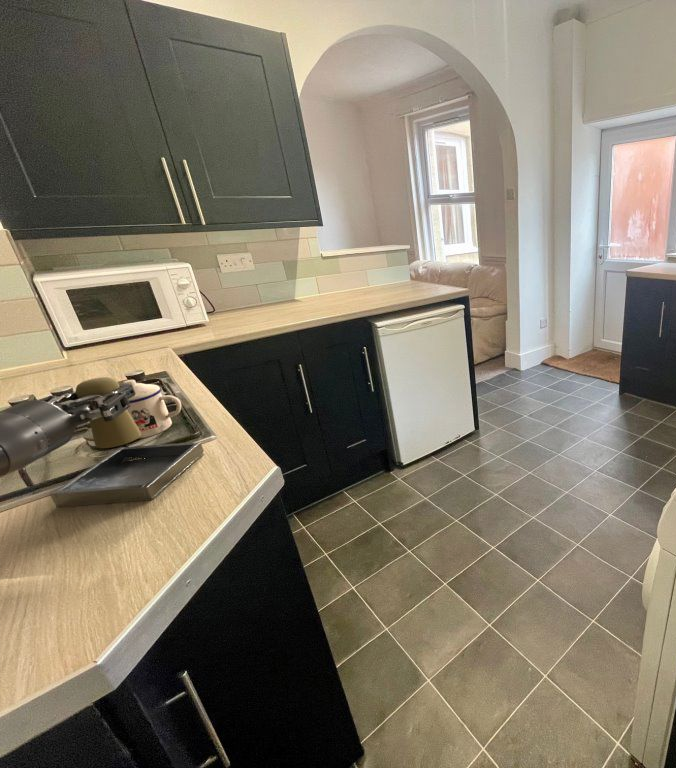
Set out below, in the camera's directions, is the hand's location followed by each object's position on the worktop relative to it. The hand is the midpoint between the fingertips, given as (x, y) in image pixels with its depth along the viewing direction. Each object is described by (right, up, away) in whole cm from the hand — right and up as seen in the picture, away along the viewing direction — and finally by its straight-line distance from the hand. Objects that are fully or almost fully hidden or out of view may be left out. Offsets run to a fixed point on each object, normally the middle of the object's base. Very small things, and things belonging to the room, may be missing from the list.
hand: (113, 390), depth 71 cm
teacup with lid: (-10, -9, +21) cm, 25 cm away
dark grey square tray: (+1, -16, +3) cm, 16 cm away
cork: (0, -9, +1) cm, 9 cm away
